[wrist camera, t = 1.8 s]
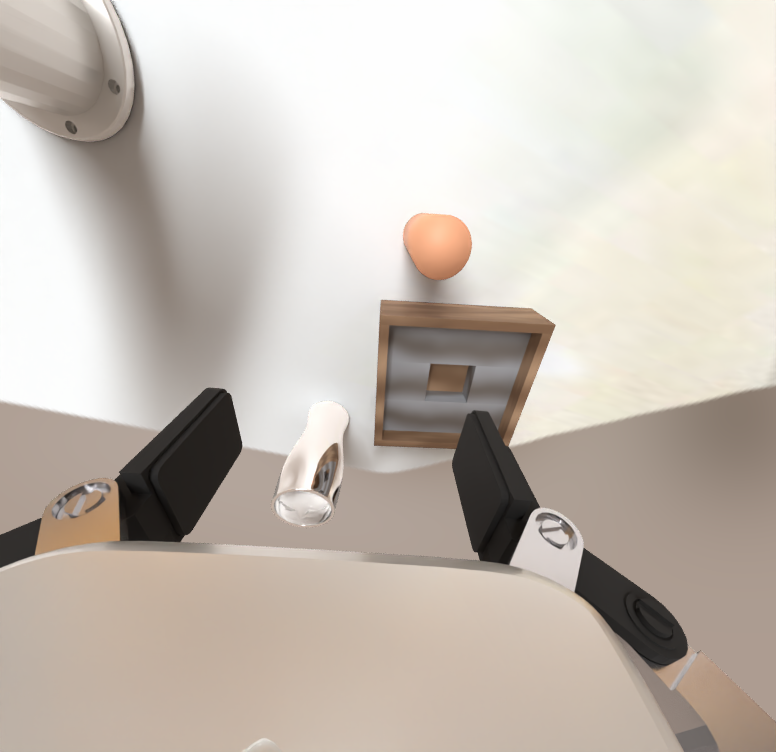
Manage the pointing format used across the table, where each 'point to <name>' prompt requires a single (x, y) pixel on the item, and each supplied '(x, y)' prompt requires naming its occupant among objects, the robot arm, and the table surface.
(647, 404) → the table surface
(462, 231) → the peg
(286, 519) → the beer glass
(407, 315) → the bore box
